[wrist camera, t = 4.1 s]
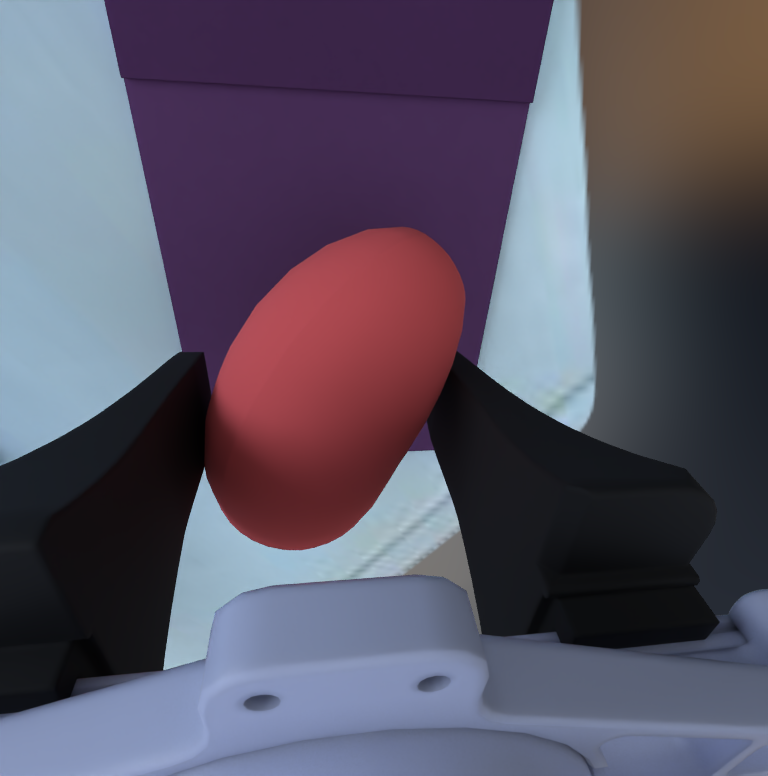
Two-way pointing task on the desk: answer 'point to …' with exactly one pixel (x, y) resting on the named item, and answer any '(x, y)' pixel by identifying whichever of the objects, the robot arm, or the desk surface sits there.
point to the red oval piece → (332, 385)
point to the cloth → (323, 139)
